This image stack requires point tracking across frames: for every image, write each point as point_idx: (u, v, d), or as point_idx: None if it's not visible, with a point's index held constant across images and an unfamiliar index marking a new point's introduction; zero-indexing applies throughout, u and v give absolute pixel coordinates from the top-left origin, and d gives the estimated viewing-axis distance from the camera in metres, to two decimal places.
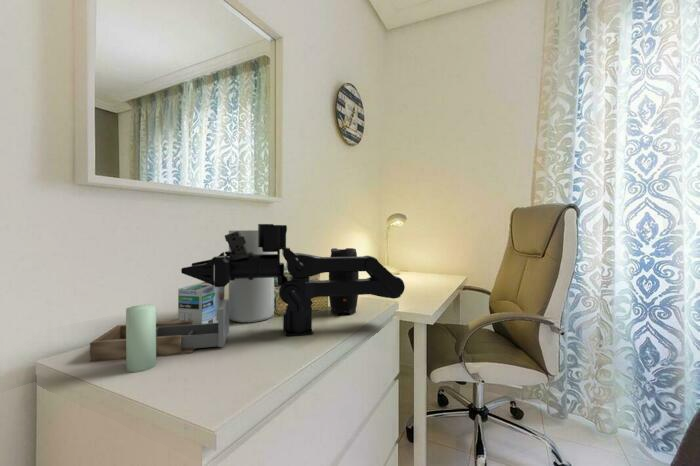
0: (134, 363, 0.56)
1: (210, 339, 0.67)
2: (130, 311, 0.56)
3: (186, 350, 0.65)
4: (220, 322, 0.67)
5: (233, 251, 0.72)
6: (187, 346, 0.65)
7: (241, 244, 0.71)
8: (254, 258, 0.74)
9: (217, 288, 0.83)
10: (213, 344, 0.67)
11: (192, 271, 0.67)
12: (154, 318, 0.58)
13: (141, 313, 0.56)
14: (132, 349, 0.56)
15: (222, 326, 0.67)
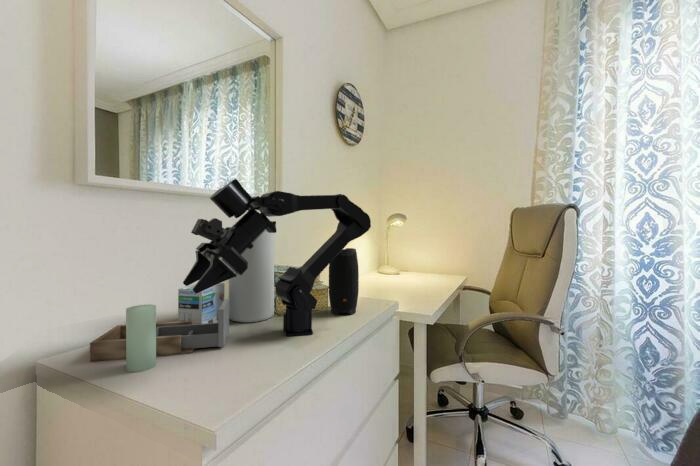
0: (134, 363, 0.56)
1: (210, 339, 0.67)
2: (130, 311, 0.56)
3: (186, 350, 0.65)
4: (220, 322, 0.67)
5: (216, 238, 0.64)
6: (187, 346, 0.65)
7: (220, 226, 0.63)
8: (238, 228, 0.67)
9: (217, 288, 0.83)
10: (213, 344, 0.67)
11: (205, 283, 0.60)
12: (154, 318, 0.58)
13: (141, 313, 0.56)
14: (132, 349, 0.56)
15: (222, 326, 0.67)
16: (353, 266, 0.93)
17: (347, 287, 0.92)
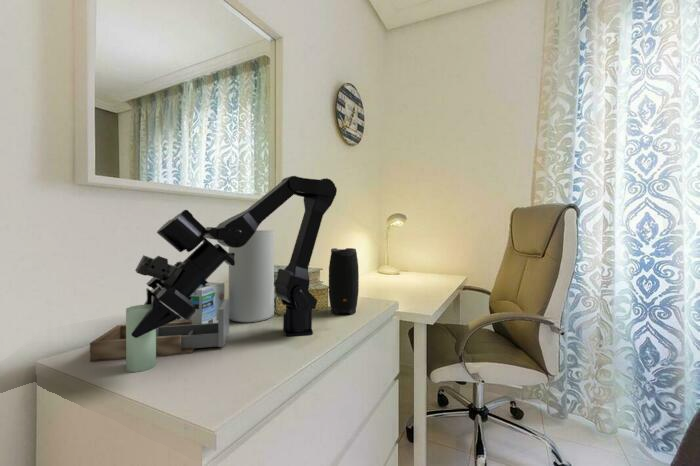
0: (134, 363, 0.56)
1: (210, 339, 0.67)
2: (130, 311, 0.56)
3: (186, 350, 0.65)
4: (220, 322, 0.67)
5: (163, 277, 0.58)
6: (187, 346, 0.65)
7: (165, 264, 0.57)
8: (189, 264, 0.61)
9: (217, 288, 0.83)
10: (213, 344, 0.67)
11: (145, 326, 0.56)
12: None
13: (141, 313, 0.56)
14: (132, 349, 0.56)
15: (222, 326, 0.67)
16: (353, 266, 0.93)
17: (347, 287, 0.92)
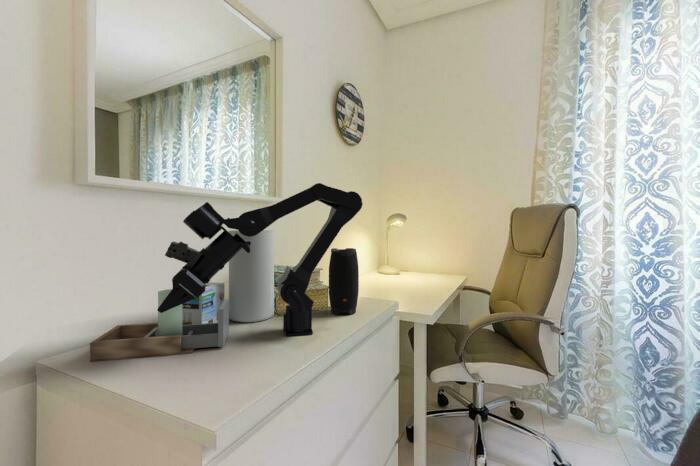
0: None
1: (210, 339, 0.67)
2: (159, 293, 0.66)
3: (186, 350, 0.65)
4: (220, 322, 0.67)
5: (185, 260, 0.67)
6: (187, 346, 0.65)
7: (185, 249, 0.66)
8: (208, 250, 0.69)
9: (217, 288, 0.83)
10: (213, 344, 0.67)
11: (168, 303, 0.63)
12: None
13: None
14: (161, 326, 0.66)
15: (222, 326, 0.67)
16: (353, 266, 0.93)
17: (347, 287, 0.92)
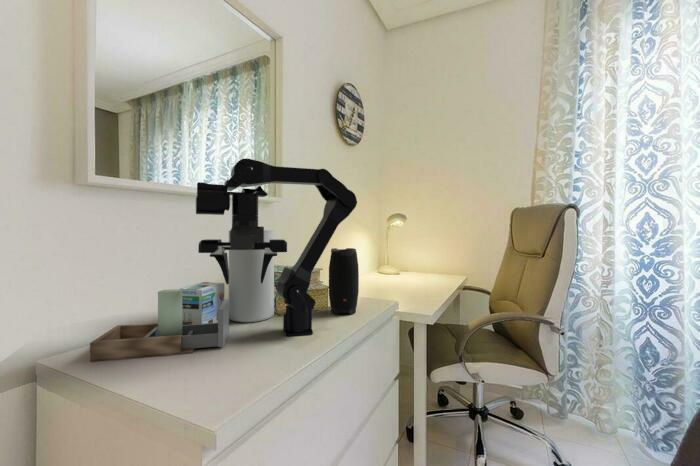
0: None
1: (210, 339, 0.67)
2: (159, 293, 0.66)
3: (186, 350, 0.65)
4: (220, 322, 0.67)
5: None
6: (187, 346, 0.65)
7: None
8: (253, 218, 0.70)
9: (217, 288, 0.83)
10: (213, 344, 0.67)
11: None
12: (179, 301, 0.68)
13: (168, 295, 0.66)
14: (161, 326, 0.66)
15: (222, 326, 0.67)
16: (353, 266, 0.93)
17: (347, 287, 0.92)
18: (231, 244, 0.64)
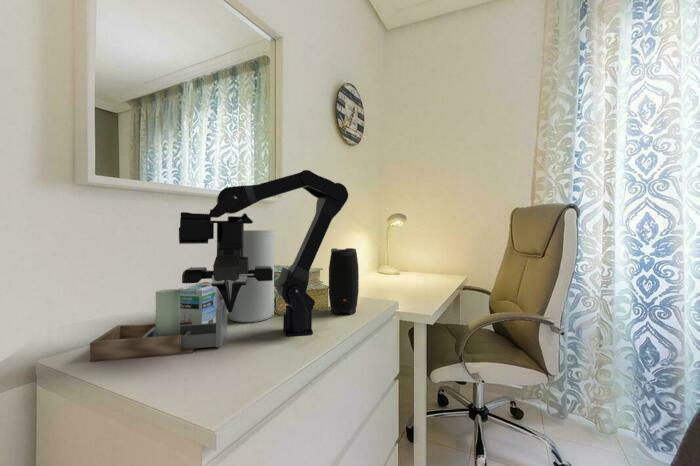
0: None
1: (207, 339, 0.66)
2: (157, 293, 0.66)
3: (186, 350, 0.65)
4: (217, 322, 0.66)
5: None
6: (184, 346, 0.65)
7: (248, 260, 0.67)
8: (238, 247, 0.70)
9: (217, 288, 0.83)
10: (210, 344, 0.67)
11: None
12: (177, 301, 0.68)
13: (165, 296, 0.66)
14: (159, 326, 0.66)
15: (219, 326, 0.67)
16: (353, 266, 0.93)
17: (347, 287, 0.92)
18: (214, 276, 0.64)
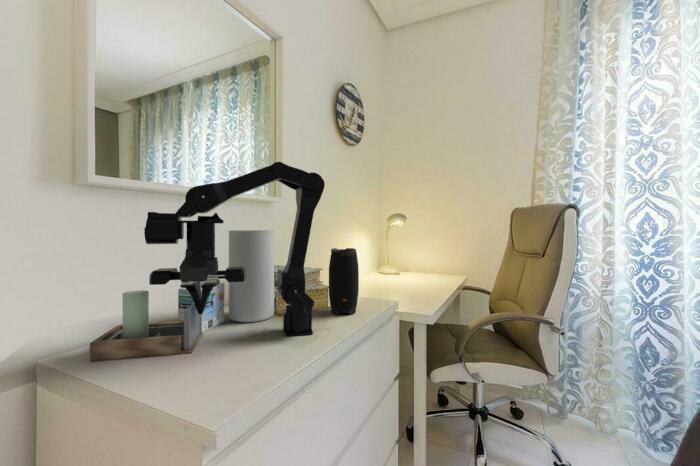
0: None
1: None
2: (124, 295, 0.65)
3: (186, 350, 0.65)
4: (186, 324, 0.65)
5: None
6: None
7: (217, 261, 0.66)
8: (208, 247, 0.68)
9: (217, 288, 0.83)
10: None
11: (206, 302, 0.70)
12: (145, 302, 0.66)
13: (132, 297, 0.65)
14: (125, 328, 0.65)
15: (188, 328, 0.65)
16: (353, 266, 0.93)
17: (347, 287, 0.92)
18: (181, 277, 0.62)
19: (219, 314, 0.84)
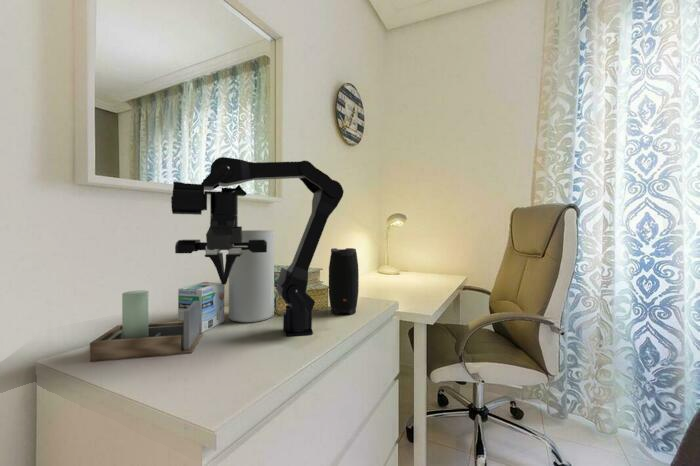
0: None
1: None
2: (123, 295, 0.65)
3: (186, 350, 0.65)
4: (185, 324, 0.65)
5: None
6: None
7: None
8: (232, 218, 0.69)
9: (217, 288, 0.83)
10: None
11: (229, 273, 0.71)
12: (145, 302, 0.66)
13: (132, 297, 0.65)
14: (125, 328, 0.65)
15: (187, 328, 0.65)
16: (353, 266, 0.93)
17: (347, 287, 0.92)
18: (207, 244, 0.63)
19: (219, 314, 0.84)
